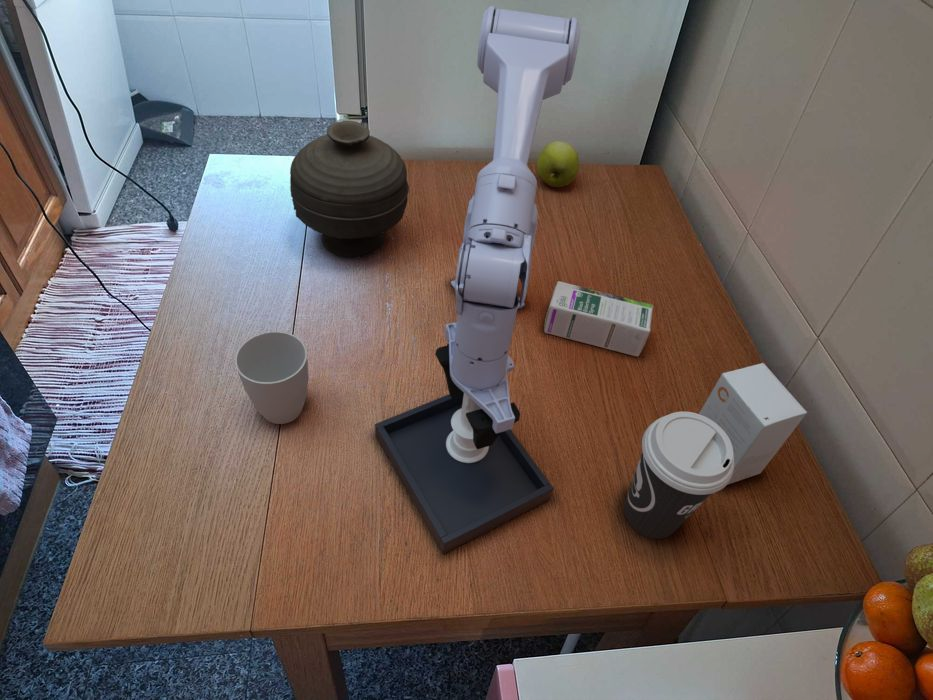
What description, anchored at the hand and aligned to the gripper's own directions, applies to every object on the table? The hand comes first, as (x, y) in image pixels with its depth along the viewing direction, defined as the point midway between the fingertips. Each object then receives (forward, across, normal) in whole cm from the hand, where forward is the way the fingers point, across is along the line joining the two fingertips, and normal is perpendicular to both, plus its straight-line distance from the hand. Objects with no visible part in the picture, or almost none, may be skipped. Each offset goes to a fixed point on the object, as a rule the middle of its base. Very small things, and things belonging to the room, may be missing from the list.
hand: (470, 418), depth 76 cm
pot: (+6, +44, +2) cm, 45 cm away
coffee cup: (+6, -16, -17) cm, 24 cm away
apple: (+6, +50, -39) cm, 63 cm away
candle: (+6, 0, 0) cm, 6 cm away
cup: (+6, +13, +20) cm, 25 cm away
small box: (+6, -12, -31) cm, 34 cm away
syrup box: (+3, +8, -32) cm, 33 cm away
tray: (+6, -2, +2) cm, 7 cm away
